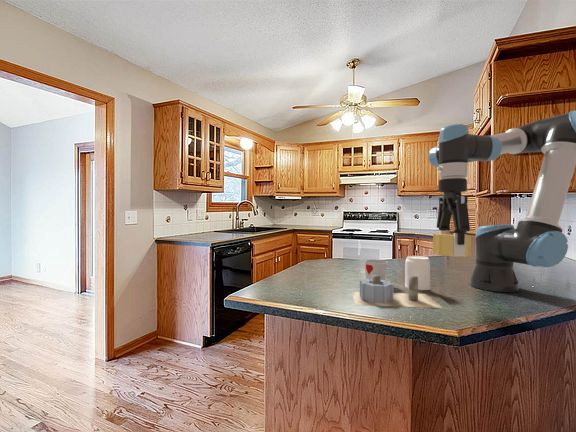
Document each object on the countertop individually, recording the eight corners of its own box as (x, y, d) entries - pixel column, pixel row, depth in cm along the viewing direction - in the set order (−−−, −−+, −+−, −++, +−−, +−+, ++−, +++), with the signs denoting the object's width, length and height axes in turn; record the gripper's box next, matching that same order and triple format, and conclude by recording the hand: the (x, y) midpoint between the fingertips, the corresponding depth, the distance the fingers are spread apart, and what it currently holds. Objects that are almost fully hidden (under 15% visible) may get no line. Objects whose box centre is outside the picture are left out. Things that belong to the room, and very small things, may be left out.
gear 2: (460, 252, 97) (461, 233, 96) (476, 257, 87) (476, 236, 87) (428, 251, 97) (429, 232, 97) (440, 256, 88) (441, 235, 88)
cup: (361, 286, 116) (361, 259, 116) (382, 285, 117) (382, 259, 117) (368, 291, 108) (369, 263, 108) (391, 291, 109) (391, 263, 109)
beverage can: (432, 295, 104) (433, 259, 104) (407, 293, 106) (407, 258, 106) (426, 288, 112) (427, 256, 112) (403, 287, 114) (403, 255, 114)
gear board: (425, 298, 100) (426, 272, 100) (442, 313, 86) (443, 282, 86) (350, 296, 103) (351, 270, 103) (355, 309, 89) (355, 280, 89)
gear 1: (388, 294, 99) (388, 279, 99) (396, 303, 90) (396, 286, 90) (358, 293, 100) (358, 278, 100) (362, 302, 91) (362, 285, 91)
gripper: (426, 181, 103) (425, 248, 104) (455, 174, 81) (454, 259, 82) (449, 181, 102) (448, 249, 103) (486, 174, 80) (484, 259, 81)
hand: (451, 253), depth 92 cm, fingers closed on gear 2, 10 cm apart
